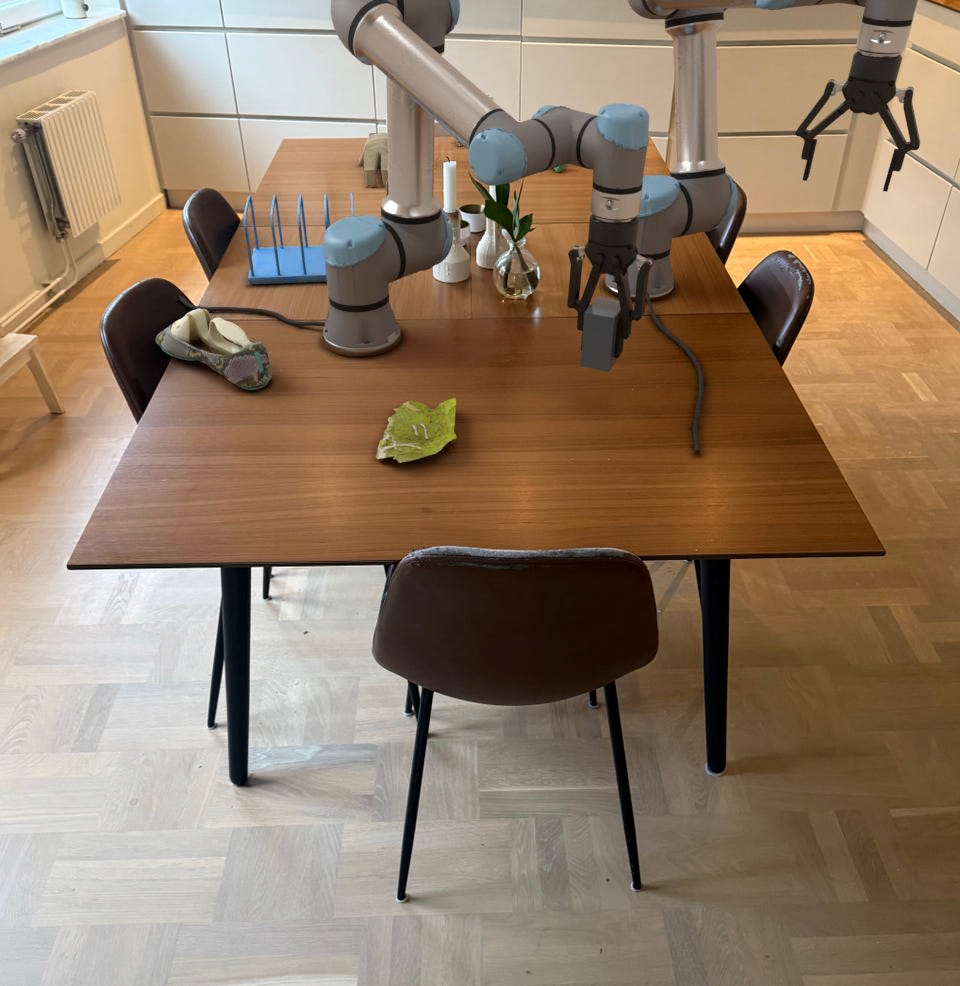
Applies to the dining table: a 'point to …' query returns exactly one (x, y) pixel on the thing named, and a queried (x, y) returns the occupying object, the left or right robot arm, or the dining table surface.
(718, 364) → the dining table surface
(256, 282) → the file sorter
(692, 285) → the dining table surface
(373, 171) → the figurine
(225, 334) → the ballet flat
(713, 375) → the dining table surface
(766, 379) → the dining table surface
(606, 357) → the block
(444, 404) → the topographical model
